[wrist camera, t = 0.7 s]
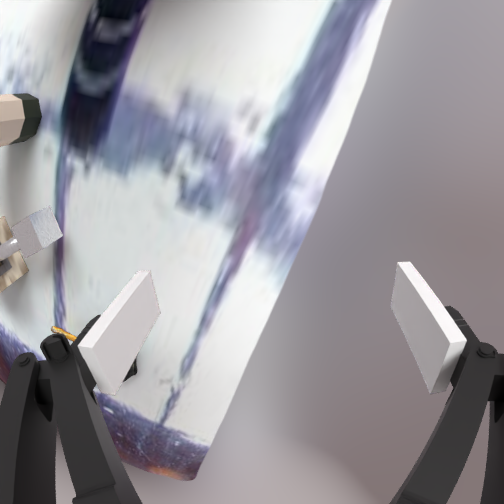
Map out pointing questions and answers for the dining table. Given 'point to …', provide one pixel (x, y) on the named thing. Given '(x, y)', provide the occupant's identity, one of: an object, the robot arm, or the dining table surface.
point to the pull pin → (32, 234)
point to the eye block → (9, 260)
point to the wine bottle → (18, 118)
